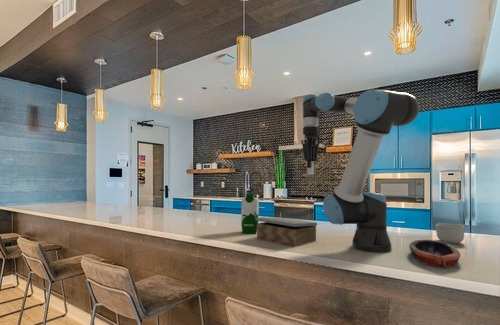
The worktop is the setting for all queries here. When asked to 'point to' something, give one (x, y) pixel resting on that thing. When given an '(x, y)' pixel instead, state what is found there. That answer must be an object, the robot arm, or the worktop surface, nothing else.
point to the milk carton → (249, 214)
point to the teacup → (450, 233)
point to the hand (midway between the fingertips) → (310, 174)
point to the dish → (435, 253)
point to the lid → (286, 221)
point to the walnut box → (286, 234)
